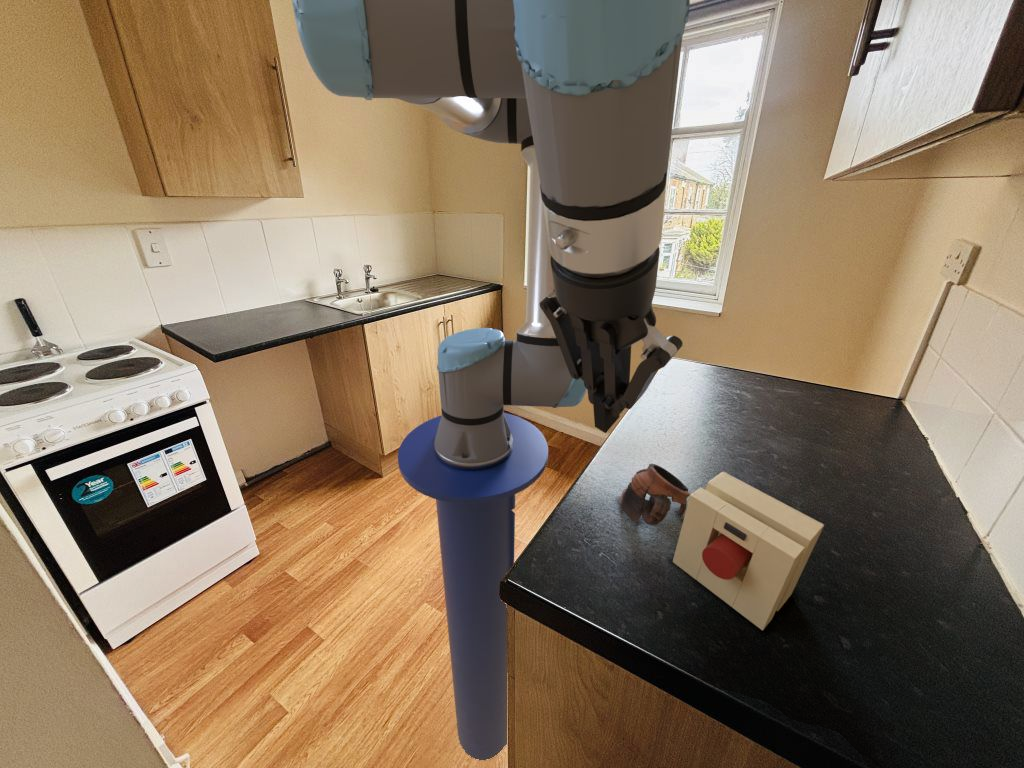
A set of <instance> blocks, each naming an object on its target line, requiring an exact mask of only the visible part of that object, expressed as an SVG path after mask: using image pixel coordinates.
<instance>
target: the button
mask: <svg viewBox="0 0 1024 768" xmlns="http://www.w3.org/2000/svg"><path fill="white" fill-rule="evenodd" d="M702 558H703V561H704V563H705V565H706V567H707V568H708V569H709V570H710V571H711V572H712V573H713V574H714V575H716V576H717V577H719V578H721V579H725V580H729V579H732V578H734V577H735V576H736V575H737V574H738V573H739V572H740V571H741V569H742V568H743V567H744V566H745V565H746V564H747V563H748V562H749V561H750V560H751V558H752V552H750V551H749V550H747V549H745V548H744V547H742V546H741V545H739V544H738V543H736V542H735V541H733V540H731V539H730V538H728V537H727V536H725V535H724V534H721V535H719V536H718V537H717V538H716V539H715V540H714V541H713V542H712V543H710V544H709V545H708V546H707V547H706V548H705V549H704V550H703V552H702Z"/></svg>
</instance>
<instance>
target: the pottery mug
mask: <svg viewBox="0 0 1024 768" xmlns="http://www.w3.org/2000/svg"><path fill="white" fill-rule="evenodd" d="M628 483H629V484H628V485H627V487H626V488H624V490H622V493H621V497H620V499H619V505H620V507H621V511H623V512H624V514H625V516H627V517H628V518H629V519H630V521H632V522H634V523H635V524H638V522H639V520H640V519H642V520H643V522H644V523H645V524H646V525H649V526H657V525H659V524H660V523H661V522H662V521H663V520H664V519H665V518H666V516H667V515H668V512H669V511H670V510H671V505H672V502H673V503H677V504H680V506H679V508H678V511H677V512H678V515H680V516H681V517H683V516H684V515H685V513H686V509H687V506H688V500H687V498H688V497H690V495H691V494H690V493H689V488H688V487H687V486H686V485H685V483H683V482H682V481H681V480H680V479H679V478H678V477H676V475H674V474H673V473H671V472H670V471H668V470H667V469H666V468H663V467H662V466H660V465H658V464H655V463H649V464H648V466H647V468H643V469H640V470H638V471H636V473H635V474H634V475H633V476H632V477H631V481H630V482H628ZM647 495H648V496H649V498H648V499H646V498H647ZM670 498H671V499H670Z"/></svg>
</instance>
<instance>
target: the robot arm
mask: <svg viewBox="0 0 1024 768" xmlns="http://www.w3.org/2000/svg"><path fill="white" fill-rule="evenodd" d="M291 1H292V8H293V13H294V20H295V23H296V24H295V25H296V29H297V32H298V36H299V40H300V43H301V47H302V50H303V51H304V54H305V58H306V59H307V61H308V64H309V65H310V67H311V70H312V71H313V73H314V74H315V76H316V78H317V80H319V83H321V84H322V85H323V87H325V89H326V90H327V91H329V92H330V93H332V94H334V95H336V96H337V97H348V98H363V99H365V100H366V101H372V100H373V99H395V100H397V99H398V100H400V101H403V102H405V103H406V102H407V103H408V104H410V105H413V106H416V107H418V108H421V109H423V110H426V111H428V112H430V113H433V114H436V115H437V116H439V118H440V120H441V121H442V122H443V123H444V124H445V125H446V126H447V127H449V128H450V129H451V130H453V131H455V132H458V133H461V134H463V135H466V136H470V137H472V138H476V139H479V140H482V141H486V142H490V143H496V144H509V145H510V144H511V145H513V144H514V145H521V146H520V158H521V159H522V160H523V161H524V162H525V164H526V165H527V166H528V167H529V170H530V171H529V175H530V176H529V198H528V202H529V203H528V235H527V267H526V268H527V271H526V272H527V273H526V303H525V304H526V305H525V321H524V323H522V324H521V325H520V326H519V327H518V328H517V329H516V340H509V339H506V336H504V333H503V332H502V331H501V330H500V329H497V328H494V329H493V328H491V327H476V328H470V329H466V330H461V331H457V332H455V333H453V334H450V335H448V336H446V337H445V338H444V339H443V340H442V341H441V342H440V343H439V345H438V347H437V364H436V370H437V371H438V372H437V373H438V374H437V375H438V385H439V387H438V388H439V397H440V398H439V399H440V409H441V415H442V416H441V415H440V416H441V419H440V423H439V426H438V430H437V434H436V437H435V441H434V446H435V454H436V456H437V458H438V459H439V460H440V461H441V462H442V463H443V464H445V465H447V466H449V467H451V468H454V469H458V470H464V471H478V470H485V469H489V468H492V467H495V466H497V465H499V464H501V463H502V462H504V461H505V460H506V459H507V458H508V457H509V456H510V455H511V453H512V449H513V437H512V433H511V431H510V428H509V425H508V423H507V420H506V417H505V415H504V413H505V412H504V406H515V407H520V406H521V407H545V408H553V409H557V408H573V407H576V406H579V404H580V403H581V402H582V401H583V400H584V398H585V396H586V393H587V399H588V402H589V403H590V404H592V406H593V419H594V428H596V429H598V430H599V431H600V432H602V433H603V434H607V432H608V431H609V430H610V429H611V428H612V426H613V425H614V424H615V423H616V422H617V421H618V420H619V418H620V415H621V414H622V413H623V412H624V410H625V409H627V410H631V409H632V408H633V407H634V406H635V405H636V403H637V402H638V401H639V400H640V399H641V398H642V396H643V395H644V394H645V393H646V391H647V390H648V388H649V387H650V385H651V384H652V382H653V380H654V378H655V376H657V373H658V371H659V370H661V369H663V368H665V367H666V366H667V365H668V363H669V362H670V361H671V360H672V359H673V358H674V357H675V355H677V353H678V351H680V349H681V348H682V347H683V345H684V343H683V340H682V339H681V338H679V337H678V336H676V335H669V336H668V337H666V336H665V335H663V333H662V332H661V331H660V330H659V329H658V328H657V327H656V325H657V316H656V314H655V312H654V309H653V300H654V296H655V292H656V288H657V280H658V279H657V278H658V271H659V270H658V269H659V262H660V261H659V260H660V244H661V241H662V236H663V225H664V214H665V204H666V203H665V201H666V192H667V191H666V189H667V177H668V169H669V168H668V167H669V159H670V151H671V150H670V149H671V143H672V142H671V141H672V134H673V133H672V132H673V125H674V115H675V106H676V97H677V86H678V80H679V79H678V78H679V70H680V61H681V54H682V53H681V51H682V43H683V36H684V34H685V29H686V28H685V27H686V24H687V23H688V22H689V14H690V5H691V3H690V1H691V0H291ZM641 340H642V342H643V346H642V353H641V354H640V358H641V360H642V361H641V362H640V363H639V364H638V365H637V367H636V369H635V372H634V373H633V375H632V377H631V363H632V362H631V361H632V346H633V345H635V344H637V343H638V342H640V341H641ZM630 378H631V379H630Z"/></svg>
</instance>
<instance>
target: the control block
mask: <svg viewBox="0 0 1024 768" xmlns="http://www.w3.org/2000/svg"><path fill="white" fill-rule="evenodd" d="M824 527H825V524H824V523H822V522H820V521H818V520H816V519H814V518H813V517H811V516H809V515H807V514H805V513H803V512H801V511H799V510H797V509H795V508H794V507H792V506H789V505H787V504H786V503H784V502H782V501H780V500H778V499H777V498H775V497H772V496H771V495H768V494H767V493H765V492H763V491H761V490H759V489H758V488H756V487H755V486H752V485H750V484H748V483H746V482H744V481H742V480H740V479H738V478H736V477H734V476H733V475H731V474H729V473H727V472H725V471H722V472H720V473H719V474H717V475H716V476H714V477H713V478H711V479H710V480H709V481H707V483H706V486H705V488H703V487H699V488H698V489H696V490H695V491H694V492H692V493H691V494H690V496H689V499H688V501H687V506H686V510H685V513H684V518H683V521H682V524H681V528H680V532H679V536H678V540H677V544H676V546H675V547H676V548H675V551H674V555H673V559H672V563H673V564H675V565H676V566H677V567H679V568H680V569H681V570H683V571H684V572H685V573H686V574H688V575H689V576H690V577H691V578H693V579H694V580H696V581H697V582H698V583H699V584H701V585H702V586H703V587H705V588H706V589H707V590H709V591H710V592H711V593H713V594H714V595H715V596H716V597H718V598H719V599H721V600H722V601H723V602H724V603H725V604H727V605H728V606H729V607H731V608H732V609H733V610H735V612H737V613H739V614H740V615H741V616H743V617H744V618H745V619H747V620H748V621H749V622H750V623H752V624H753V625H754V626H755V627H757V628H758V629H759V630H761V631H764V630H765V629H766V627H767V626H768V625H769V624H770V622H771V621H772V620H773V618H774V616H775V614H776V612H779V611H780V609H782V607H783V606H784V604H785V603H786V602H787V601H788V599H789V598H790V597H791V596H792V594H793V592H794V590H795V588H796V586H797V583H798V581H799V579H800V577H801V575H802V573H803V571H804V569H805V567H806V565H807V563H808V561H809V558H810V557H811V554H812V552H813V550H814V548H815V546H816V544H817V541H818V539H819V537H820V536H821V533H822V531H823V529H824ZM721 534H724V535H725V536H727V537H728V538H730V539H731V540H733V541H735V542H736V543H738V544H739V545H741V546H742V547H744V548H745V549H747V550H749V551H750V552H752V558H751V560H750V561H749V562H748V563H747V564H746V565H745V566H744V567H743V568H742V569H741V571H740V572H739V573H738V574H737V575H736V576H735V577H734V578H732V579H729V580H725V579H721V578H719V577H717V576H716V575H714V574H713V573H712V572H711V571H710V570H709V569H708V568H707V567H706V565H705V563H704V561H703V558H702V552H703V550H704V549H705V548H706V547H707V546H708V545H709V544H710V543H712V542H713V541H714V540H715V539H716V538H717V537H718V536H719V535H721Z"/></svg>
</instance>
